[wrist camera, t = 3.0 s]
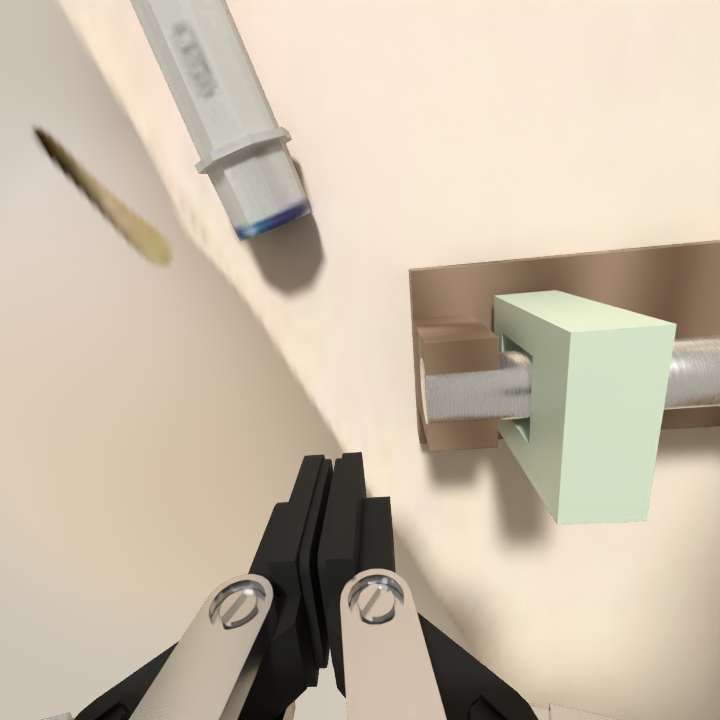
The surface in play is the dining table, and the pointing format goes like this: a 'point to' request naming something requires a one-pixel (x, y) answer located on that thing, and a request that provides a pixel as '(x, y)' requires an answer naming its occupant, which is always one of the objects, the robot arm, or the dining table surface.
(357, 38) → the dining table surface
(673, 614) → the dining table surface
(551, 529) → the dining table surface
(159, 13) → the grey handheld flashlight
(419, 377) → the walnut base
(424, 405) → the steel pipe
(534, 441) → the sage collar
